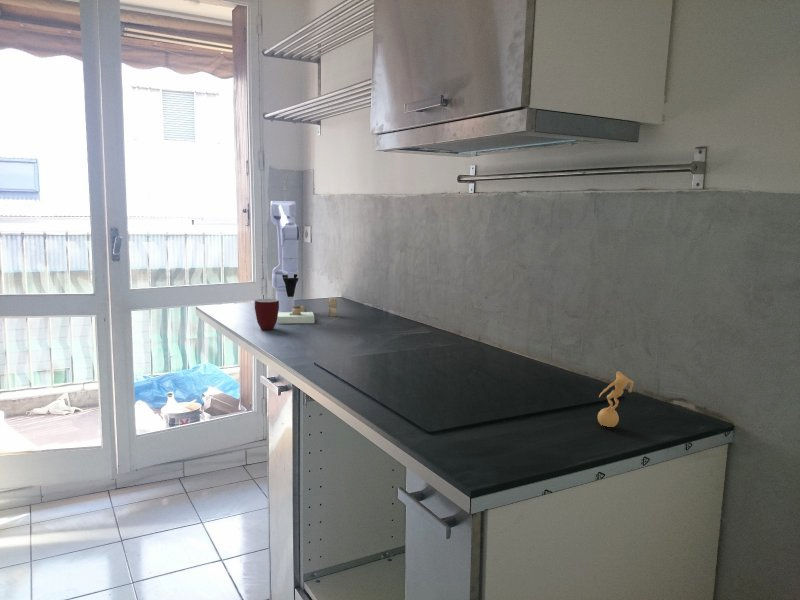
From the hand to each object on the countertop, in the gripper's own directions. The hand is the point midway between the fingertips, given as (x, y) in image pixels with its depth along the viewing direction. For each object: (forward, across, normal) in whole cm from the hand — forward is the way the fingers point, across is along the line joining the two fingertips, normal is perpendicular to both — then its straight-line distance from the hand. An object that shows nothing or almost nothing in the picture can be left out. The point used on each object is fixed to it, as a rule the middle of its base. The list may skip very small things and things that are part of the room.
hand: (290, 295), depth 223 cm
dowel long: (+10, -8, +16) cm, 21 cm away
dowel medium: (+9, +2, +2) cm, 10 cm away
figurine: (+9, +121, +58) cm, 135 cm away
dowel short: (+10, -8, +4) cm, 13 cm away
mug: (+10, +14, -9) cm, 19 cm away
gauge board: (+9, +1, +2) cm, 10 cm away
